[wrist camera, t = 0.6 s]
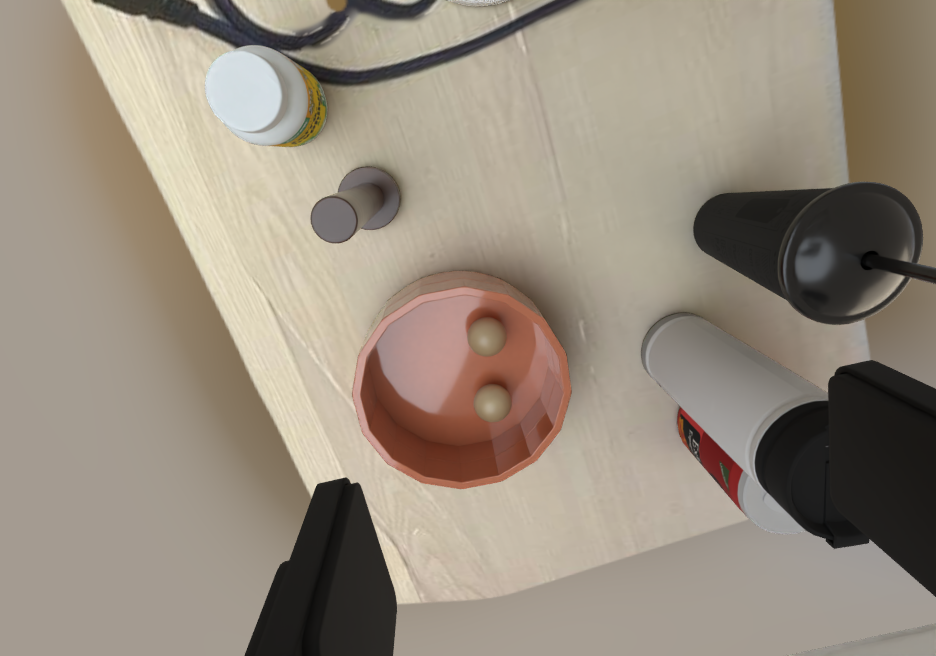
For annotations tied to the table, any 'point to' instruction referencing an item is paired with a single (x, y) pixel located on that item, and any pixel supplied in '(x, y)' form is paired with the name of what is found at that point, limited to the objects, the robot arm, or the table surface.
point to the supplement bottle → (266, 97)
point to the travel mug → (753, 417)
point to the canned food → (735, 480)
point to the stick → (357, 205)
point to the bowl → (458, 382)
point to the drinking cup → (820, 246)
